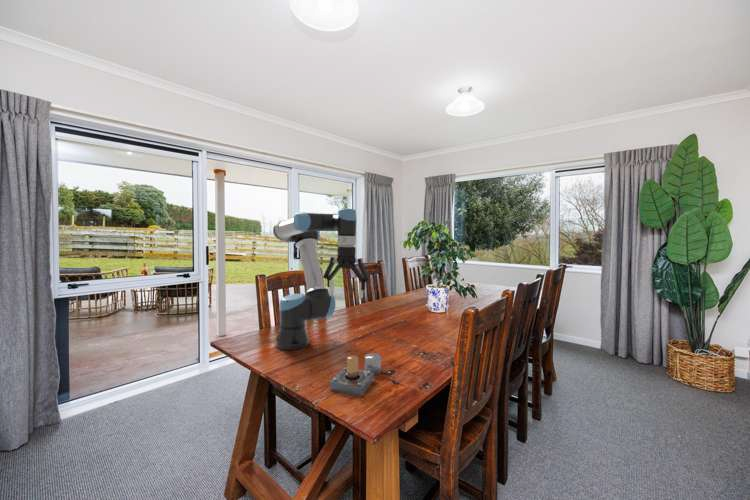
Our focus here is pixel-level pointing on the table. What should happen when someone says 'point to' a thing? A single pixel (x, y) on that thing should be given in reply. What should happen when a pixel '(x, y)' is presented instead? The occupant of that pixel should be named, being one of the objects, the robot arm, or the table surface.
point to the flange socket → (352, 382)
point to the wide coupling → (373, 363)
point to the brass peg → (352, 367)
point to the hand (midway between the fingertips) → (345, 296)
